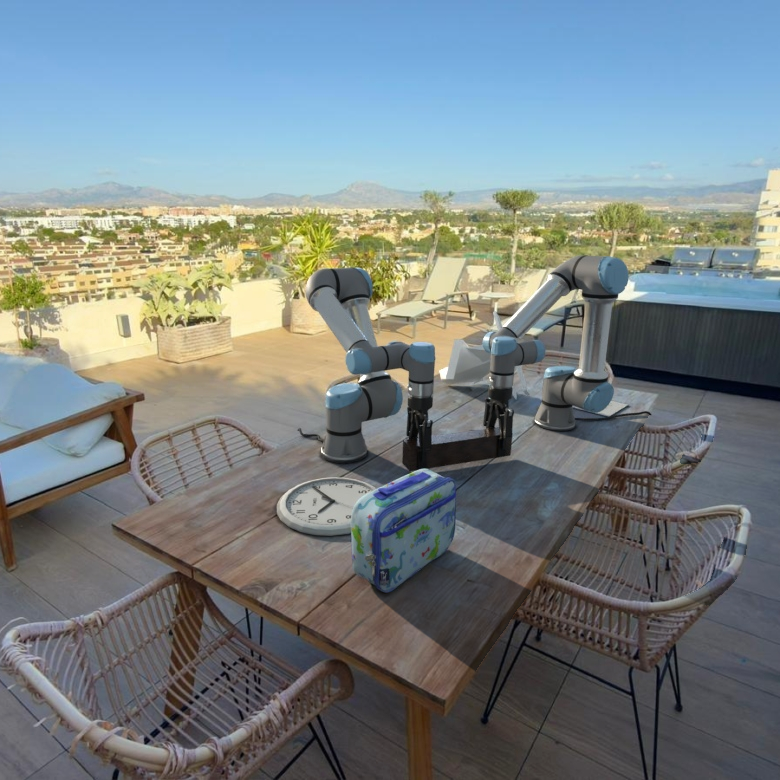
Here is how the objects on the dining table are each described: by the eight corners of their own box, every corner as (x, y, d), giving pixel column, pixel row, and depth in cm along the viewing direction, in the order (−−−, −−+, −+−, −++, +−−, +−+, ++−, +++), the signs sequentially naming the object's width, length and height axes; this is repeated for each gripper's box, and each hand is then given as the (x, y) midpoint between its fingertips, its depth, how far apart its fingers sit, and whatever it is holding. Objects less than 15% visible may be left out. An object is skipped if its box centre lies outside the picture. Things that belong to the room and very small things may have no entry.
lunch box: (379, 605, 105) (380, 513, 99) (344, 580, 112) (343, 493, 106) (459, 552, 123) (464, 471, 116) (425, 533, 130) (428, 456, 124)
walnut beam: (500, 448, 177) (502, 426, 175) (510, 455, 172) (512, 433, 169) (402, 463, 165) (402, 439, 162) (409, 471, 159) (410, 447, 157)
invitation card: (608, 416, 214) (573, 407, 224) (608, 416, 214) (573, 408, 224) (628, 404, 229) (594, 396, 238) (628, 405, 229) (594, 397, 238)
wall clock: (392, 527, 129) (268, 531, 127) (391, 533, 130) (269, 537, 127) (383, 473, 158) (282, 475, 155) (383, 478, 158) (282, 480, 156)
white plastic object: (461, 429, 252) (437, 405, 227) (444, 352, 274) (420, 323, 250) (535, 404, 240) (518, 377, 215) (510, 326, 262) (492, 293, 237)
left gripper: (397, 386, 163) (395, 453, 170) (422, 406, 146) (419, 480, 154) (418, 384, 166) (416, 450, 173) (446, 403, 149) (441, 476, 156)
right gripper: (475, 378, 173) (471, 443, 180) (507, 396, 156) (501, 466, 163) (494, 376, 176) (489, 440, 183) (528, 393, 159) (521, 462, 166)
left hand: (417, 464), depth 163 cm, fingers closed on walnut beam, 6 cm apart
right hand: (495, 452), depth 173 cm, fingers closed on walnut beam, 6 cm apart
